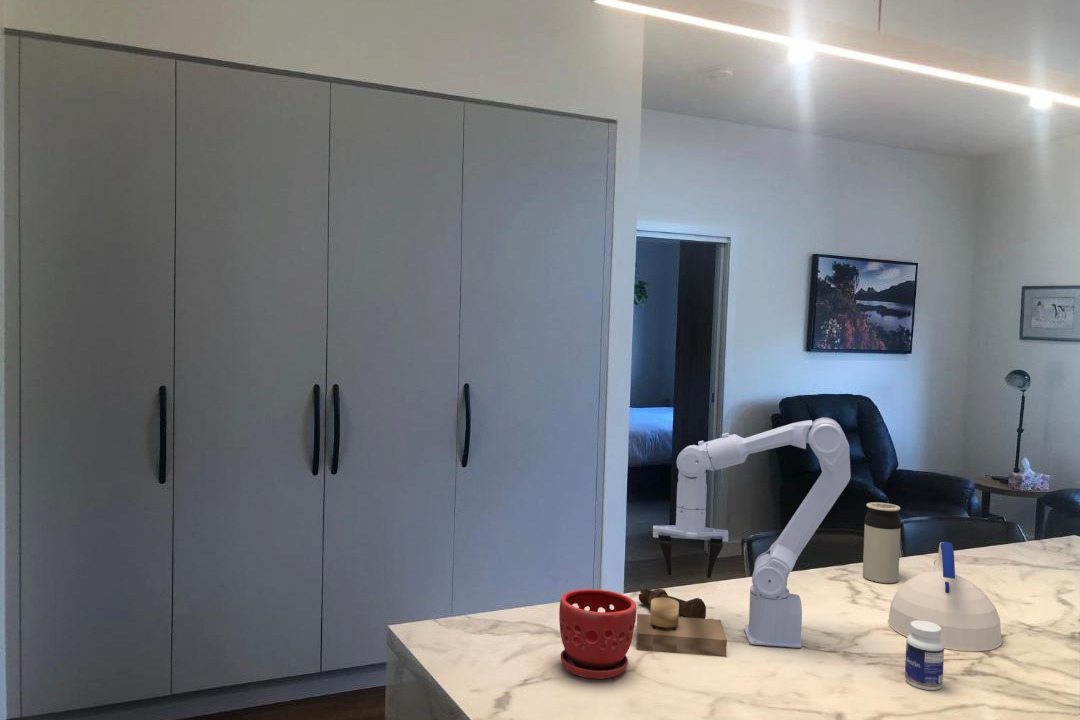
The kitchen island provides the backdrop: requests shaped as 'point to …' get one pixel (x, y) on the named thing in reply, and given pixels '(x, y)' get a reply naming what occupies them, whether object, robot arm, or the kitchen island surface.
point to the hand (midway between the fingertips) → (688, 575)
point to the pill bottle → (924, 656)
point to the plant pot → (596, 632)
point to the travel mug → (881, 543)
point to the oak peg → (664, 613)
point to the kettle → (947, 607)
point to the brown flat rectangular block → (683, 636)
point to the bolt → (686, 608)
